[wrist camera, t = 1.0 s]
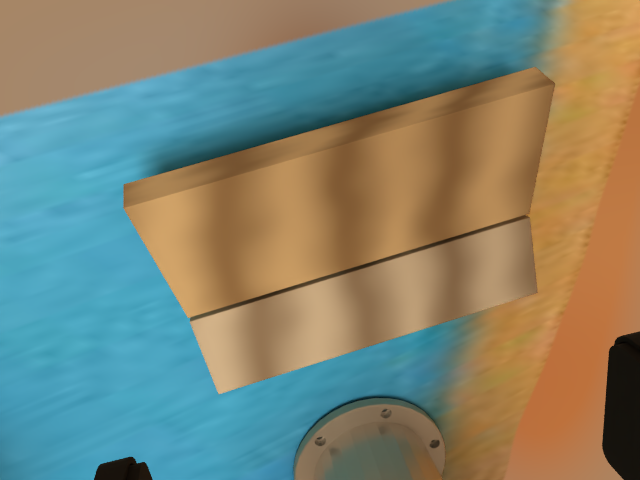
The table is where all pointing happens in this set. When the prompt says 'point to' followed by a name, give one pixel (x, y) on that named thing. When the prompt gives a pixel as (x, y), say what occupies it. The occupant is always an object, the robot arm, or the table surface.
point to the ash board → (367, 304)
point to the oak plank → (344, 192)
